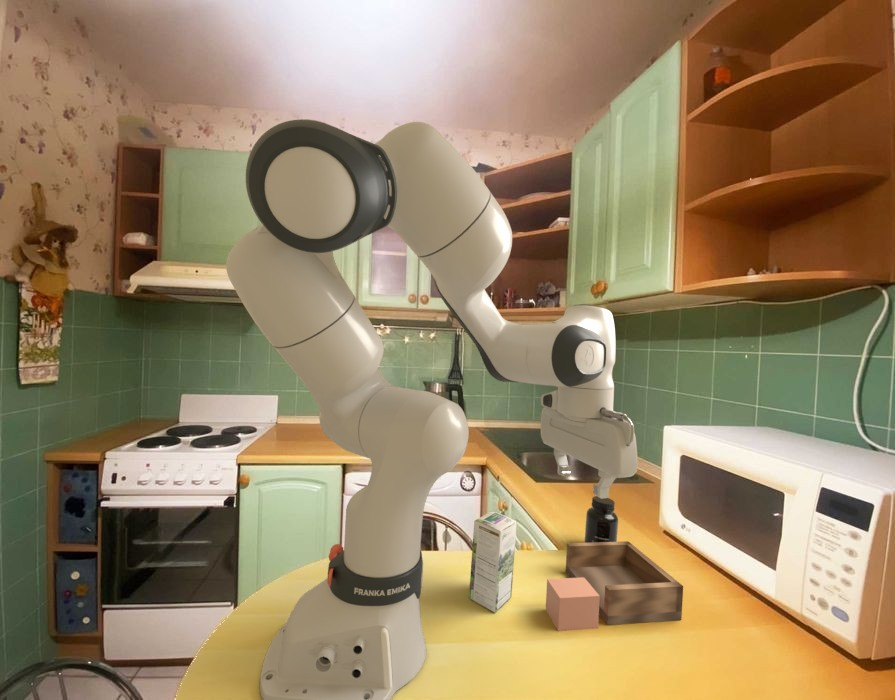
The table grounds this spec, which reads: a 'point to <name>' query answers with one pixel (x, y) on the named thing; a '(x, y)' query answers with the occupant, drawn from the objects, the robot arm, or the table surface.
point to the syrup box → (492, 560)
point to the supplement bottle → (601, 521)
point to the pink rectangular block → (572, 604)
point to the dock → (625, 582)
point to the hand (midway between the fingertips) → (581, 485)
